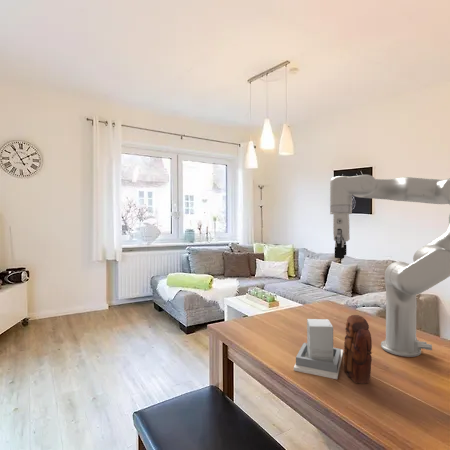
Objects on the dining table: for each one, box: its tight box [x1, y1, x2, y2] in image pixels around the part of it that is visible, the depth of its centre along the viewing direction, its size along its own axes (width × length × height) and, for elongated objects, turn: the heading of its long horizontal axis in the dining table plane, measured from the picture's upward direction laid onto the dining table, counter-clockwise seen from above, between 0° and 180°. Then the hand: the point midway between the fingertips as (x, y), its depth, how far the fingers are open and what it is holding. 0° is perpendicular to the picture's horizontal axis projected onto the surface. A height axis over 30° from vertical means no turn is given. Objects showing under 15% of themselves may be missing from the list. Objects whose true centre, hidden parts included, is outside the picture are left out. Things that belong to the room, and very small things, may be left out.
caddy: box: [293, 342, 344, 380], centre depth 104 cm, size 13×20×4 cm, turn 155°
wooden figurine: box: [343, 314, 373, 384], centre depth 95 cm, size 12×6×18 cm, turn 178°
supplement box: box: [306, 318, 334, 362], centre depth 102 cm, size 7×7×13 cm
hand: (340, 256), depth 116 cm, fingers open, 9 cm apart
